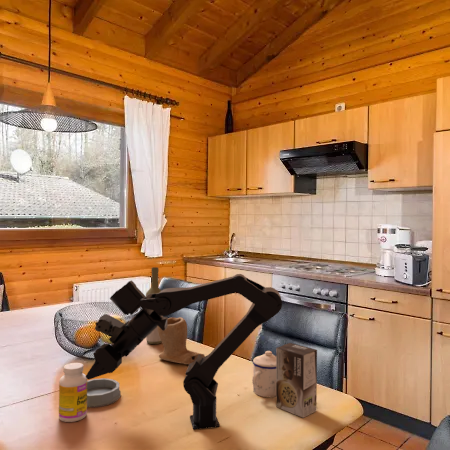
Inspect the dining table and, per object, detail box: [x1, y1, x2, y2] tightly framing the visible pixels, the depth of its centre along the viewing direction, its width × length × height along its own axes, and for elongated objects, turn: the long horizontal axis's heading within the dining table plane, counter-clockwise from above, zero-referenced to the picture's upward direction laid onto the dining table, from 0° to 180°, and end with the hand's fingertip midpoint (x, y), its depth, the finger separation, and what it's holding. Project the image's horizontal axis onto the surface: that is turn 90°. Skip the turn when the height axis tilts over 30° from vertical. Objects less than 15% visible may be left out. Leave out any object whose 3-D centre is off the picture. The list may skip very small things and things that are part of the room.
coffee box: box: [275, 342, 318, 418], centre depth 111 cm, size 9×6×16 cm
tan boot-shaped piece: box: [158, 316, 206, 366], centre depth 147 cm, size 15×12×15 cm
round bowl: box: [87, 377, 122, 408], centre depth 117 cm, size 12×12×3 cm
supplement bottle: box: [58, 362, 88, 423], centre depth 105 cm, size 7×7×13 cm
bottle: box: [145, 266, 164, 345], centre depth 167 cm, size 7×7×30 cm
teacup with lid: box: [251, 350, 276, 398], centre depth 121 cm, size 12×9×12 cm
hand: (94, 371), depth 105 cm, fingers open, 9 cm apart
